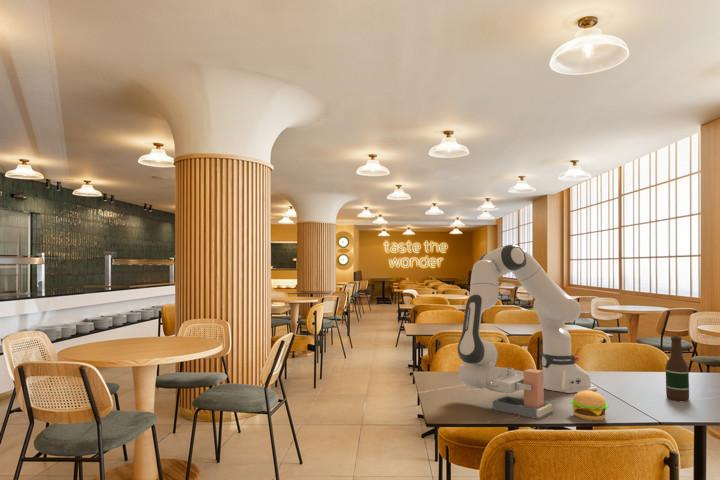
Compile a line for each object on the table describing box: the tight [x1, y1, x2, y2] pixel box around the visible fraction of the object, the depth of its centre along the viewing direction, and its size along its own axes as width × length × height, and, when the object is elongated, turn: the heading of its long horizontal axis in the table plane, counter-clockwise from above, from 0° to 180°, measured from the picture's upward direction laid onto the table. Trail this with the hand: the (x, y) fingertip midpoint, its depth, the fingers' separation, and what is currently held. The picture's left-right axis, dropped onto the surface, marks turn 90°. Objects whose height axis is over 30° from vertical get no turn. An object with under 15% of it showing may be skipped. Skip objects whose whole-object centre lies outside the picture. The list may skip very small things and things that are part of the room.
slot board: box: [492, 395, 553, 420], centre depth 183 cm, size 17×10×3 cm, turn 47°
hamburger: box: [570, 390, 610, 421], centre depth 177 cm, size 12×12×9 cm
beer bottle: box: [665, 335, 690, 402], centre depth 200 cm, size 8×8×24 cm
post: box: [523, 368, 545, 408], centre depth 181 cm, size 5×5×14 cm
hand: (536, 385), depth 180 cm, fingers open, 6 cm apart
